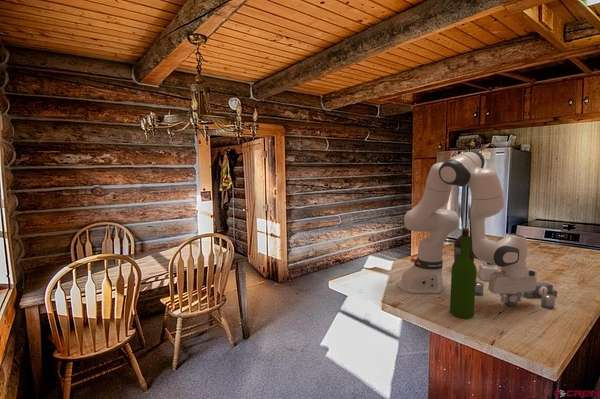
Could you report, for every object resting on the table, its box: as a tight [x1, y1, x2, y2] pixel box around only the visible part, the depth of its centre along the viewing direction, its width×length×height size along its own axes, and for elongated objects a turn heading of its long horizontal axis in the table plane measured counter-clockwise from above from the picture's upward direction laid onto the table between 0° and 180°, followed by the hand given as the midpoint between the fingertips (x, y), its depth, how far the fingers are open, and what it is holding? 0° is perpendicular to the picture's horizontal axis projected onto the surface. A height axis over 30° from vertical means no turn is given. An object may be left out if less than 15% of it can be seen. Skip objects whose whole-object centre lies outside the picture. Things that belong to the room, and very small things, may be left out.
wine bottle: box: [449, 235, 478, 320], centre depth 129 cm, size 9×9×32 cm
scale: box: [515, 282, 558, 299], centre depth 153 cm, size 15×18×6 cm
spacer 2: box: [504, 292, 518, 308], centre depth 138 cm, size 4×4×5 cm
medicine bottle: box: [478, 260, 499, 282], centre depth 168 cm, size 7×7×12 cm
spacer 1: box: [475, 281, 485, 297], centre depth 150 cm, size 4×4×5 cm
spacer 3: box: [540, 294, 556, 310], centre depth 136 cm, size 4×4×5 cm
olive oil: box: [453, 227, 475, 264], centre depth 178 cm, size 11×11×25 cm
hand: (510, 301), depth 138 cm, fingers open, 5 cm apart
